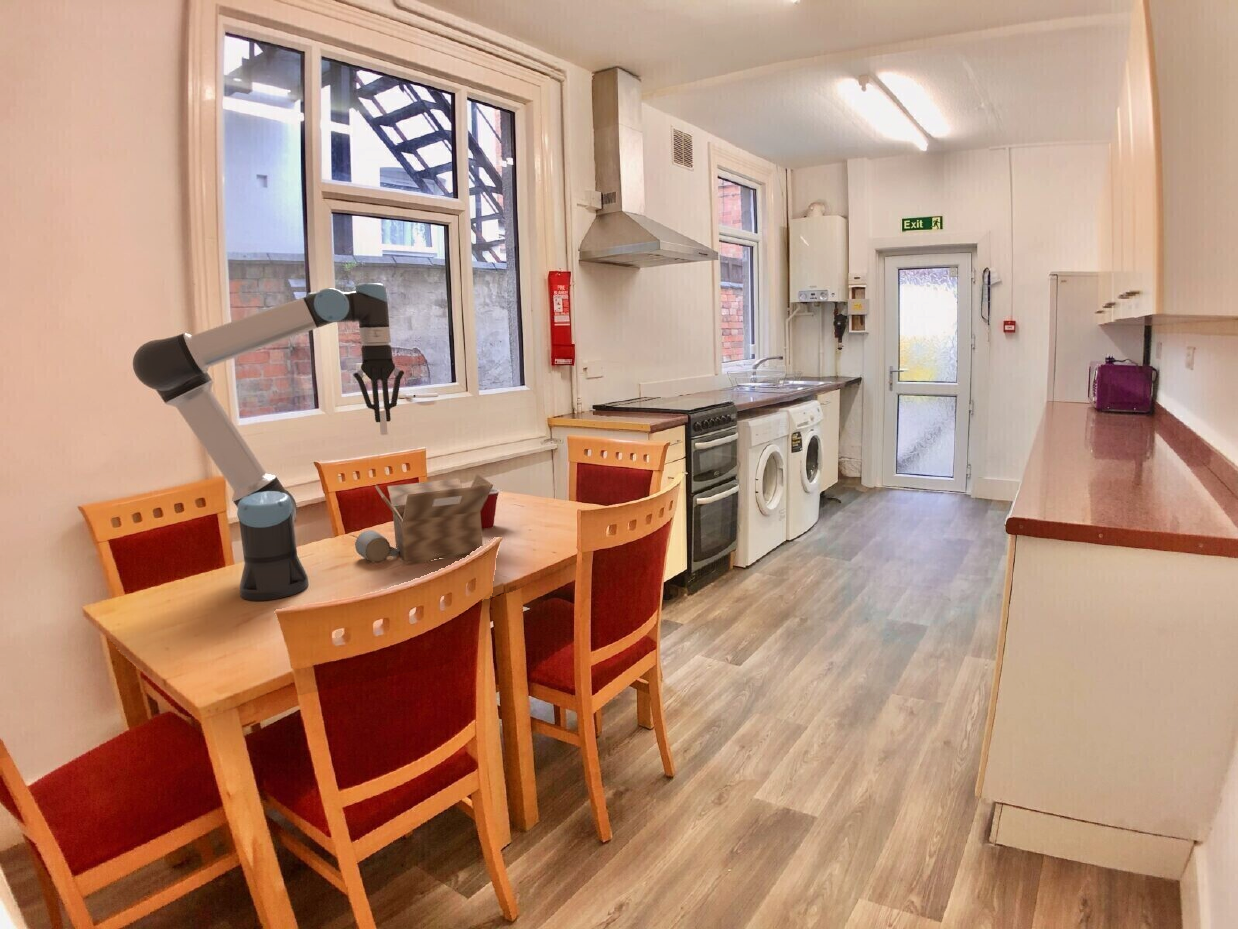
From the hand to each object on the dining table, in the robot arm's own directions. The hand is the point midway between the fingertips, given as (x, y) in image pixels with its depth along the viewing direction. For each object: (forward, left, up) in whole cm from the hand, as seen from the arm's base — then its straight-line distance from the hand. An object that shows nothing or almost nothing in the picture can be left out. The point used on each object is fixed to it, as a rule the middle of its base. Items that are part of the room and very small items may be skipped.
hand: (384, 434), depth 195 cm
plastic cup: (+30, +20, -35) cm, 50 cm away
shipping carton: (+12, +5, -34) cm, 37 cm away
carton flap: (+12, -15, -17) cm, 26 cm away
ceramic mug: (-4, +2, -35) cm, 35 cm away
